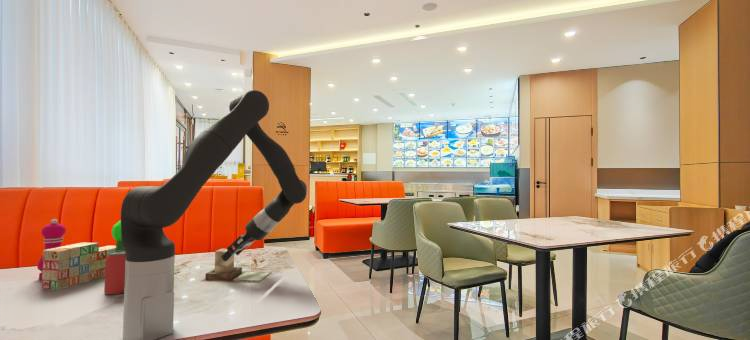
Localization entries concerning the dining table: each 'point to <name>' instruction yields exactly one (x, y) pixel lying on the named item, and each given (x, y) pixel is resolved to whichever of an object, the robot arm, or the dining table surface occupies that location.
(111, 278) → the beer can
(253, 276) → the puzzle board
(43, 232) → the pepper mill
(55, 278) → the stack of blocks
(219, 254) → the maple block
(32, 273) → the dining table surface
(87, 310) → the dining table surface
